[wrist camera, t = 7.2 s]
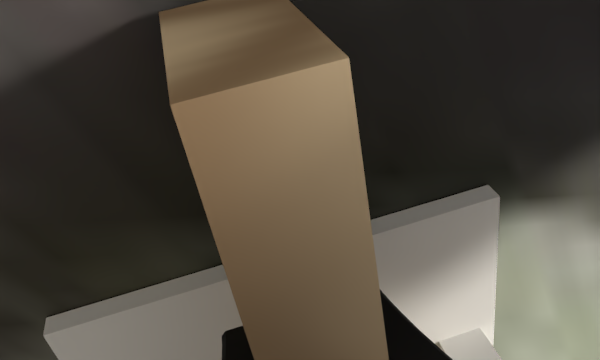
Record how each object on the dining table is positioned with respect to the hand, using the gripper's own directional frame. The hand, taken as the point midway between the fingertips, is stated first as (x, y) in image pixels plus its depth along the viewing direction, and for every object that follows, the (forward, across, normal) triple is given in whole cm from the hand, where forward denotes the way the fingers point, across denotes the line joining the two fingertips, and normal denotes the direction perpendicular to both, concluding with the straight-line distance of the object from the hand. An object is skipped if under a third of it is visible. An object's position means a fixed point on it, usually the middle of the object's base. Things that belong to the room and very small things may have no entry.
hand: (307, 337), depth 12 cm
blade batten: (+2, 0, +1) cm, 2 cm away
